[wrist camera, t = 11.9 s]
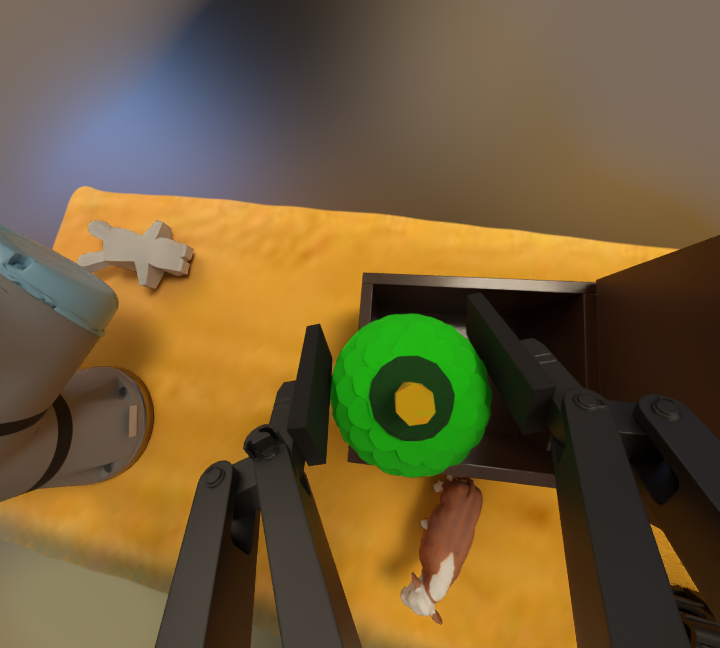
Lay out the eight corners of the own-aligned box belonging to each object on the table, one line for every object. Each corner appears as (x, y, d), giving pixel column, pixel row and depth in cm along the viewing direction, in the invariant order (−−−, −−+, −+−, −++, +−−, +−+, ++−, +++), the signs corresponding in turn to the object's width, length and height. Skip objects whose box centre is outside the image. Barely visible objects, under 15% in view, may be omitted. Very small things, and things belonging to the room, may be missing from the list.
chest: (363, 427, 35) (347, 462, 23) (372, 304, 38) (362, 272, 25) (522, 444, 33) (604, 494, 20) (522, 312, 35) (596, 282, 22)
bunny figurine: (167, 287, 37) (57, 269, 37) (190, 296, 42) (94, 280, 42) (185, 221, 38) (78, 204, 38) (205, 237, 43) (111, 222, 43)
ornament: (330, 425, 19) (263, 487, 9) (364, 312, 20) (335, 260, 10) (449, 466, 18) (517, 587, 8) (479, 344, 19) (573, 319, 9)
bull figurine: (393, 556, 33) (393, 618, 25) (446, 453, 34) (463, 480, 26) (426, 579, 32) (438, 651, 24) (480, 474, 33) (508, 508, 25)
